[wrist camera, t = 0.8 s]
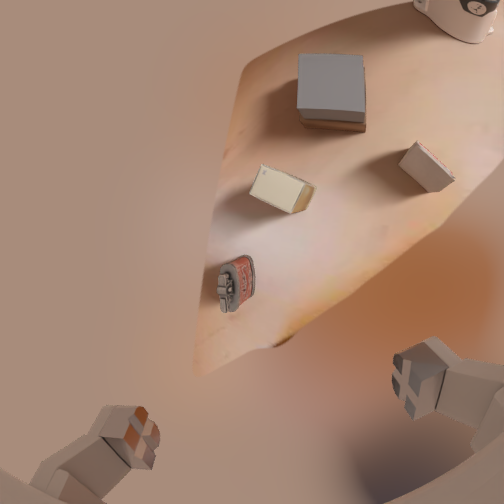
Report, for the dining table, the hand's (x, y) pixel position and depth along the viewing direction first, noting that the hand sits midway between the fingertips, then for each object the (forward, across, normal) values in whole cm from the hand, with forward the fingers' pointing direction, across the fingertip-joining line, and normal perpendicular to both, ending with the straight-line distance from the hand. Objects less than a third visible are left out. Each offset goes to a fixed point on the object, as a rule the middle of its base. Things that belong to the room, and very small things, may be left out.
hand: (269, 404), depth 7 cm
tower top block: (+32, -17, -18) cm, 40 cm away
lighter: (+42, +3, +9) cm, 43 cm away
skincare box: (+39, -9, -4) cm, 40 cm away
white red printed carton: (+31, -28, -4) cm, 42 cm away
